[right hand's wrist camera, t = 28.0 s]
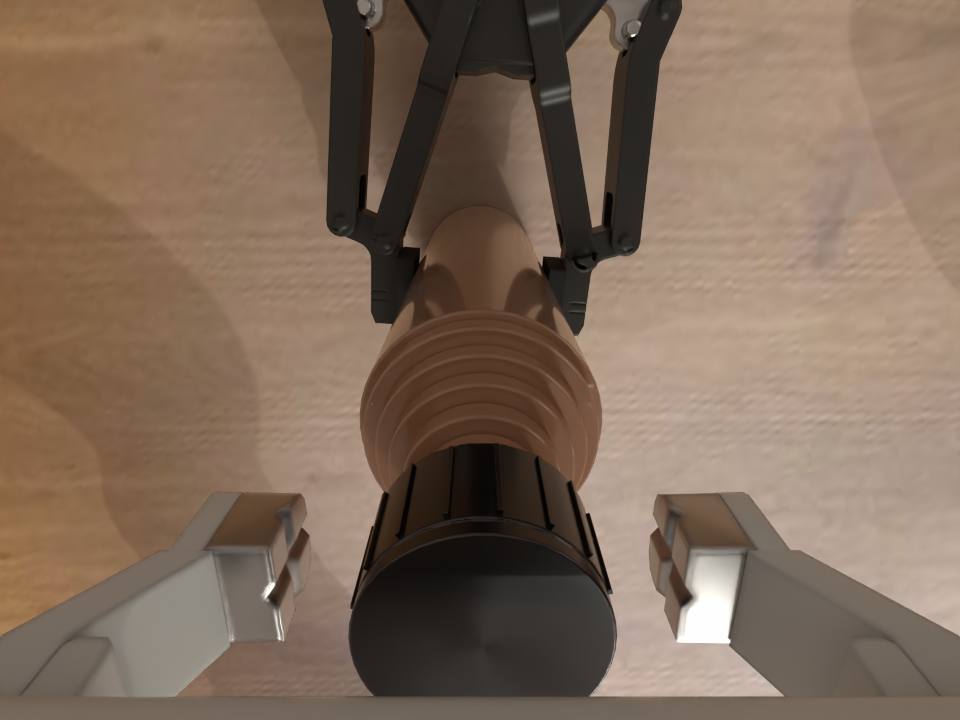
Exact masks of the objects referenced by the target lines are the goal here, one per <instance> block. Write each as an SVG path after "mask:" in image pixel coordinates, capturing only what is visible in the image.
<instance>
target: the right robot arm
mask: <svg viewBox="0 0 960 720" xmlns="http://www.w3.org/2000/svg"><path fill="white" fill-rule="evenodd" d="M306 516H307V511H306V505H305V499H304V497H303V496H302V495H301V494H297V493H248V492H246V493H243V492H217V493H215V494H212V495H211V496H210V497H209V498H208V499H207V501H206V502H205V503H204V505H203V506H202V507H201V509H200V510H199V511H198V513H197V514H196V515H195V517H194V518H193V519H192V521H191V522H190V523H189V525H188V526H187V527H186V529H185V530H184V531H183V533H182V534H181V535H180V537H179V538H178V539H177V541H176V542H175V543H174V545H173V546H172V547H171V549H170V550H162V551H158V552H156V553H154V554H153V555H151V556H149V557H147V558H145V559H143V560H141V561H140V562H138V563H136V564H134V565H132V566H130V567H128V568H126V569H125V570H123V571H121V572H119V573H117V574H115V575H113V576H111V577H110V578H108V579H106V580H104V581H102V582H100V583H98V584H97V585H95V586H93V587H91V588H89V589H87V590H85V591H83V592H82V593H80V594H78V595H76V596H74V597H72V598H70V599H68V600H67V601H65V602H63V603H61V604H59V605H57V606H55V607H54V608H52V609H50V610H48V611H46V612H44V613H42V614H40V615H39V616H37V617H35V618H33V619H31V620H29V621H27V622H26V623H24V624H22V625H20V626H18V627H16V628H14V629H12V630H11V631H9V632H7V633H5V634H3V635H2V636H1V637H0V720H960V637H959V636H958V635H956V634H955V633H953V632H951V631H949V630H947V629H945V628H943V627H942V626H940V625H938V624H936V623H934V622H932V621H930V620H928V619H927V618H925V617H923V616H921V615H919V614H917V613H915V612H914V611H912V610H910V609H908V608H906V607H904V606H902V605H901V604H899V603H897V602H895V601H893V600H891V599H889V598H887V597H886V596H884V595H882V594H880V593H878V592H876V591H874V590H873V589H871V588H869V587H867V586H865V585H863V584H861V583H860V582H858V581H856V580H854V579H852V578H850V577H848V576H846V575H845V574H843V573H841V572H839V571H837V570H835V569H833V568H832V567H830V566H828V565H826V564H824V563H822V562H820V561H819V560H817V559H815V558H813V557H811V556H809V555H807V554H806V553H804V552H802V551H798V550H790V549H789V547H788V546H787V545H786V543H785V542H784V541H783V539H782V538H781V537H780V535H779V534H778V533H777V532H776V530H775V529H774V528H773V526H772V525H771V524H770V522H769V521H768V520H767V518H766V517H765V516H764V514H763V513H762V512H761V510H760V509H759V508H758V506H757V505H756V504H755V502H754V501H753V500H752V498H751V497H750V496H749V495H748V494H746V493H744V492H726V493H705V494H658V495H657V497H656V500H655V504H654V511H653V516H654V518H655V520H656V522H657V525H658V528H657V529H656V530H655V531H654V532H653V533H652V534H651V535H650V545H649V562H650V570H651V575H652V579H653V582H654V585H655V587H656V590H657V591H658V592H659V593H661V594H662V595H663V596H665V597H666V601H665V608H664V611H665V614H666V616H667V619H668V621H669V624H670V626H671V629H672V631H673V634H674V636H675V639H676V641H677V642H706V643H730V644H729V646H730V647H731V648H732V649H734V650H735V651H736V652H737V653H738V654H739V655H740V656H741V657H742V658H743V659H745V660H746V661H747V662H748V663H749V664H750V665H751V666H752V667H753V668H754V669H755V670H757V671H758V672H759V673H760V674H761V675H762V676H763V677H764V678H765V679H766V680H768V681H769V682H770V683H771V684H772V685H773V686H774V687H775V688H776V689H777V690H779V691H780V692H781V693H782V694H783V695H784V696H785V697H407V696H370V697H175V696H176V695H177V694H178V693H179V692H181V691H182V690H183V689H184V688H185V687H186V686H187V685H188V684H189V683H190V682H192V681H193V680H194V679H195V678H196V677H197V676H198V675H199V674H200V673H201V672H203V671H204V670H205V669H206V668H207V667H208V666H209V665H210V664H211V663H212V662H214V661H215V660H216V659H217V658H218V657H219V656H220V655H221V654H222V653H223V652H225V651H226V650H227V649H228V648H229V647H230V643H253V642H283V641H284V639H285V636H286V634H287V631H288V629H289V626H290V624H291V621H292V619H293V616H294V614H295V611H296V608H295V601H294V597H295V596H297V595H298V594H299V593H301V592H302V591H303V590H304V587H305V585H306V582H307V579H308V575H309V569H310V563H311V543H310V535H309V534H308V533H307V532H306V531H305V530H304V529H303V528H302V525H303V522H304V520H305V518H306Z"/></svg>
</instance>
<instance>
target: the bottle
mask: <svg viewBox="0 0 960 720" xmlns="http://www.w3.org/2000/svg"><path fill="white" fill-rule="evenodd" d="M601 428H602V407H601V401H600V395H599V392H598V388H597V385H596V382H595V380H594V377H593V375H592V373H591V371H590V369H589V367H588V365H587V362H586V360H585V358H584V356H583V354H582V352H581V350H580V348H579V345H578V343H577V341H576V339H575V337H574V335H573V333H572V330H571V328H570V326H569V324H568V322H567V320H566V318H565V316H564V313H563V311H562V309H561V307H560V305H559V303H558V301H557V298H556V296H555V294H554V292H553V290H552V288H551V286H550V283H549V281H548V279H547V277H546V275H545V273H544V271H543V269H542V266H541V264H540V262H539V260H538V258H537V256H536V254H535V251H534V249H533V247H532V245H531V243H530V241H529V239H528V237H527V234H526V232H525V231H524V229H523V228H522V226H521V225H520V224H519V223H518V222H517V221H516V220H515V219H514V218H513V217H511V216H510V215H508V214H507V213H505V212H503V211H501V210H499V209H496V208H492V207H487V206H472V207H467V208H464V209H461V210H458V211H456V212H454V213H452V214H451V215H449V216H448V217H447V218H445V219H444V220H443V221H442V222H441V223H440V225H439V226H438V227H437V228H436V230H435V232H434V233H433V235H432V237H431V240H430V242H429V244H428V246H427V248H426V251H425V253H424V255H423V257H422V260H421V262H420V264H419V266H418V268H417V271H416V273H415V275H414V277H413V280H412V282H411V284H410V286H409V289H408V291H407V293H406V295H405V297H404V300H403V302H402V304H401V306H400V309H399V311H398V313H397V315H396V318H395V320H394V322H393V324H392V326H391V329H390V331H389V333H388V335H387V338H386V340H385V342H384V344H383V346H382V349H381V351H380V353H379V355H378V358H377V360H376V362H375V364H374V367H373V369H372V371H371V373H370V376H369V378H368V380H367V382H366V385H365V388H364V392H363V395H362V399H361V407H360V429H361V435H362V441H363V444H364V449H365V454H366V458H367V461H368V464H369V467H370V469H371V471H372V473H373V475H374V477H375V479H376V481H377V482H378V484H379V485H380V487H381V488H382V490H383V491H385V492H388V490H389V488H390V487H391V486H392V484H393V483H394V482H395V481H396V479H397V478H398V477H399V476H400V475H401V474H402V473H403V472H404V471H406V469H407V468H409V465H410V464H411V463H414V464H415V463H416V462H418V461H419V460H421V459H423V458H425V457H426V456H428V455H429V454H431V453H434V452H436V451H439V450H443V449H446V448H449V446H457V445H461V444H466V443H499V444H504V445H508V446H511V447H515V448H518V449H521V450H525V451H528V452H531V453H532V454H535V455H539V456H541V457H542V459H543V460H545V461H546V462H548V463H549V464H551V465H552V466H554V467H555V468H556V469H558V470H559V471H560V472H561V473H562V474H563V475H564V476H565V477H566V478H567V479H568V481H570V480H572V481H573V482H574V485H575V489H576V492H578V491H579V490H580V488H581V487H582V485H583V484H584V482H585V480H586V479H587V477H588V475H589V473H590V471H591V469H592V466H593V464H594V461H595V457H596V454H597V450H598V443H599V440H600V435H601Z"/></svg>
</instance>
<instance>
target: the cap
mask: <svg viewBox="0 0 960 720" xmlns="http://www.w3.org/2000/svg"><path fill="white" fill-rule="evenodd" d="M610 594H613V592H612V588H611V585H610V582H609V578H608V575H607V571H606V568H605V564H604V561H603V557H602V554H601V551H600V547H599V544H598V540H597V537H596V533H595V530H594V527H593V523H592V520H591V516H590V513H587V514H586V512H585V509H584V506H583V504H582V501H581V499H580V497H579V495H578V493H577V492H576V489H575V485H574V482H573V481H572V480H570V481H568V479H567V478H566V477H565V476H564V475H563V474H562V473H561V472H560V471H559V470H558V469H556V468H555V467H554V466H552V465H551V464H549V463H548V462H546V461H545V460H543V459H542V457H541V456H539V455H535V454H532V453H531V452H528V451H525V450H521V449H518V448H515V447H511V446H508V445H504V444H499V443H466V444H461V445H457V446H449V448H446V449H443V450H439V451H436V452H434V453H431V454H429V455H428V456H426V457H425V458H423V459H421V460H419V461H418V462H416V463H415V464H414V463H411V464H410V465H409V468H407V469H406V471H404V472H403V473H402V474H401V475H400V476H399V477H398V478H397V479H396V481H395V482H394V483H393V484H392V486H391V487H390V488H389V490H388V492H385V491H384V492H383V494H382V497H381V501H380V504H379V508H378V512H377V516H376V519H375V523H374V526H372V528H371V531H370V535H369V539H368V542H367V546H366V550H365V554H364V557H363V561H362V565H361V568H360V572H359V576H358V579H357V583H356V587H355V590H354V594H353V598H352V602H351V609H353V610H352V614H351V619H350V623H349V646H350V653H351V656H352V659H353V663H354V666H355V668H356V670H357V672H358V674H359V676H360V678H361V680H362V681H363V683H364V684H365V686H366V687H367V689H368V690H369V691H370V692H371V693H372V694H373V695H374V696H407V697H590V696H591V695H592V694H593V693H594V692H595V691H596V689H597V688H598V687H599V686H600V684H601V683H602V681H603V680H604V678H605V676H606V675H607V672H608V670H609V668H610V666H611V664H612V660H613V657H614V653H615V649H616V640H617V629H616V620H615V616H614V612H613V608H612V605H611V601H610V597H609V595H610Z"/></svg>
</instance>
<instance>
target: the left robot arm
mask: <svg viewBox="0 0 960 720" xmlns="http://www.w3.org/2000/svg"><path fill="white" fill-rule="evenodd" d="M387 2H388V0H323V3H324V7H325V10H326V14H327V17H328V21H329V25H330V28H331V32H332V35H333V37H332V67H331V97H330V127H329V156H328V186H327V216H326V221H327V226H328V228H329V230H330V231H331V232H332V233H333V234H334V235H337V236H340V237H342V236H345V237H348V238H350V239H352V240H355V241H357V242H359V243H361V244H363V245H364V246H365V247H366V248H367V249H368V251H369V253H370V255H371V313H372V315H373V318H374V320H375V323H386V324H393V322H394V320H395V318H396V315H397V313H398V311H399V309H400V306H401V304H402V302H403V300H404V297H405V295H406V293H407V291H408V289H409V286H410V284H411V282H412V280H413V277H414V275H415V273H416V271H417V268H418V266H419V261H420V248H413V247H403V238H404V237H405V235H406V234H405V233H406V230H407V227H408V224H409V221H410V218H411V215H412V212H413V209H414V206H415V203H416V200H417V197H418V194H419V191H420V188H421V185H422V182H423V179H424V176H425V173H426V170H427V167H428V164H429V161H430V158H431V155H432V152H433V149H434V146H435V143H436V140H437V137H438V134H439V131H440V128H441V125H442V122H443V119H444V116H445V113H446V110H447V107H448V104H449V102H450V99H451V97H452V94H453V91H454V89H455V86H456V83H457V80H458V77H459V75H467V76H479V75H483V74H488V73H493V72H496V73H499V74H501V75H504V76H506V77H509V78H512V79H519V80H529V83H530V88H531V94H532V99H533V103H534V106H535V110H536V115H537V121H538V126H539V132H540V137H541V143H542V148H543V154H544V159H545V165H546V170H547V176H548V181H549V187H550V192H551V198H552V203H553V209H554V214H555V220H556V225H557V231H558V236H559V242H560V247H561V257H560V258H558V257H544V256H543V265H542V269H543V271H544V273H545V275H546V277H547V279H548V281H549V283H550V286H551V288H552V290H553V292H554V294H555V296H556V298H557V301H558V303H559V305H560V307H561V309H562V311H563V313H564V316H565V318H566V320H567V322H568V324H569V326H570V328H571V330H572V333H573V335H574V336H578V334H579V333H580V331H581V329H582V327H583V326H584V319H585V311H586V304H587V297H588V290H589V283H590V275H591V272H592V270H593V269H594V268H595V267H596V266H597V263H599V262H600V261H602V260H604V259H608V258H611V257H615V256H618V255H621V256H628V255H631V254H633V253H634V252H635V251H636V250H637V249H638V247H639V244H640V238H641V229H642V220H643V210H644V201H645V192H646V183H647V174H648V165H649V156H650V146H651V137H652V128H653V119H654V110H655V101H656V92H657V82H658V73H659V64H660V60H661V57H662V55H663V53H664V51H665V48H666V46H667V44H668V41H669V39H670V37H671V35H672V32H673V30H674V28H675V25H676V23H677V21H678V18H679V16H680V14H681V10H682V1H681V0H404V2H405V3H406V5H407V7H408V8H409V10H410V12H411V14H412V15H413V17H414V19H415V21H416V22H417V24H418V26H419V27H420V29H421V31H422V33H423V34H424V36H425V38H426V39H427V41H428V43H429V45H428V48H427V52H426V55H425V58H424V61H423V64H422V68H421V71H420V75H419V79H418V85H417V89H416V92H415V95H414V98H413V101H412V105H411V108H410V111H409V114H408V117H407V120H406V124H405V127H404V130H403V133H402V136H401V140H400V143H399V146H398V149H397V152H396V155H395V159H394V162H393V165H392V168H391V171H390V175H389V178H388V181H387V184H386V187H385V190H384V194H383V197H382V200H381V203H380V206H379V210H378V213H375V212H373V211H370V210H368V209H366V201H367V183H368V165H369V148H370V130H371V113H372V95H373V78H374V40H373V33H372V32H374V31H377V30H379V29H380V28H381V27H382V26H383V25H384V23H385V20H386V5H387ZM600 9H601V10H603V11H604V12H606V14H607V15H608V16H609V19H610V24H611V27H610V34H609V38H610V42H611V45H612V46H613V47H614V48H615V49H616V50H618V51H620V53H619V55H618V59H617V63H616V68H615V74H614V82H613V94H612V106H611V118H610V129H609V141H608V153H607V165H606V176H605V188H604V200H603V212H602V224H601V226H597V227H594V228H592V225H591V219H590V213H589V207H588V200H587V194H586V188H585V182H584V175H583V169H582V163H581V157H580V151H579V144H578V138H577V132H576V126H575V120H574V113H573V107H572V101H571V83H570V76H569V70H568V63H567V57H566V52H567V51H568V50H569V48H570V47H571V46H572V45H573V43H574V42H575V41H576V40H577V38H578V37H579V36H580V35H581V33H582V32H583V31H584V29H585V28H586V27H587V26H588V24H589V23H590V22H591V21H592V19H593V18H594V17H595V16H596V14H597V13H598V12H599V11H600Z"/></svg>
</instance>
